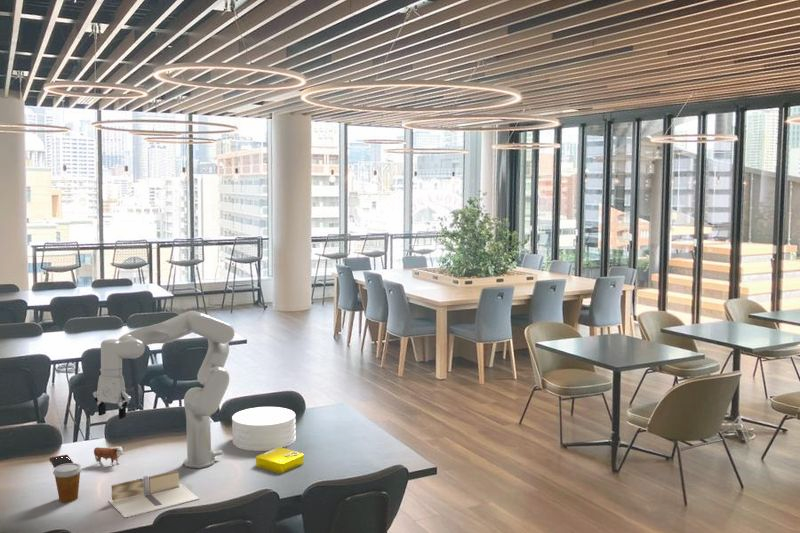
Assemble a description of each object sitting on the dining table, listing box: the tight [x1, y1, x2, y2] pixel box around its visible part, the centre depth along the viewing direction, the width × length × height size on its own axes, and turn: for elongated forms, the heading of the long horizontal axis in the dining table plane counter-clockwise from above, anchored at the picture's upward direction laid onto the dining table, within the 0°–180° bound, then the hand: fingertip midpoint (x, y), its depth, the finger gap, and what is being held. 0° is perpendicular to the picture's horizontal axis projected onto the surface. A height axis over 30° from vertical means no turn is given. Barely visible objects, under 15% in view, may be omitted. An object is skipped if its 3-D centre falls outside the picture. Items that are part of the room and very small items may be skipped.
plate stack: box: [231, 406, 297, 452], centre depth 354 cm, size 28×28×12 cm
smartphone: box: [49, 454, 74, 468], centre depth 326 cm, size 7×1×15 cm
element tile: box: [255, 447, 305, 474], centre depth 324 cm, size 15×15×5 cm
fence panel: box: [111, 477, 144, 501], centre depth 288 cm, size 11×1×6 cm, turn 127°
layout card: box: [108, 470, 200, 519], centre depth 288 cm, size 27×18×7 cm, turn 127°
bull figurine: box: [93, 446, 125, 467], centre depth 323 cm, size 4×13×8 cm, turn 78°
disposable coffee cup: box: [52, 462, 82, 503], centre depth 288 cm, size 10×10×12 cm
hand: (112, 416), depth 301 cm, fingers open, 9 cm apart
